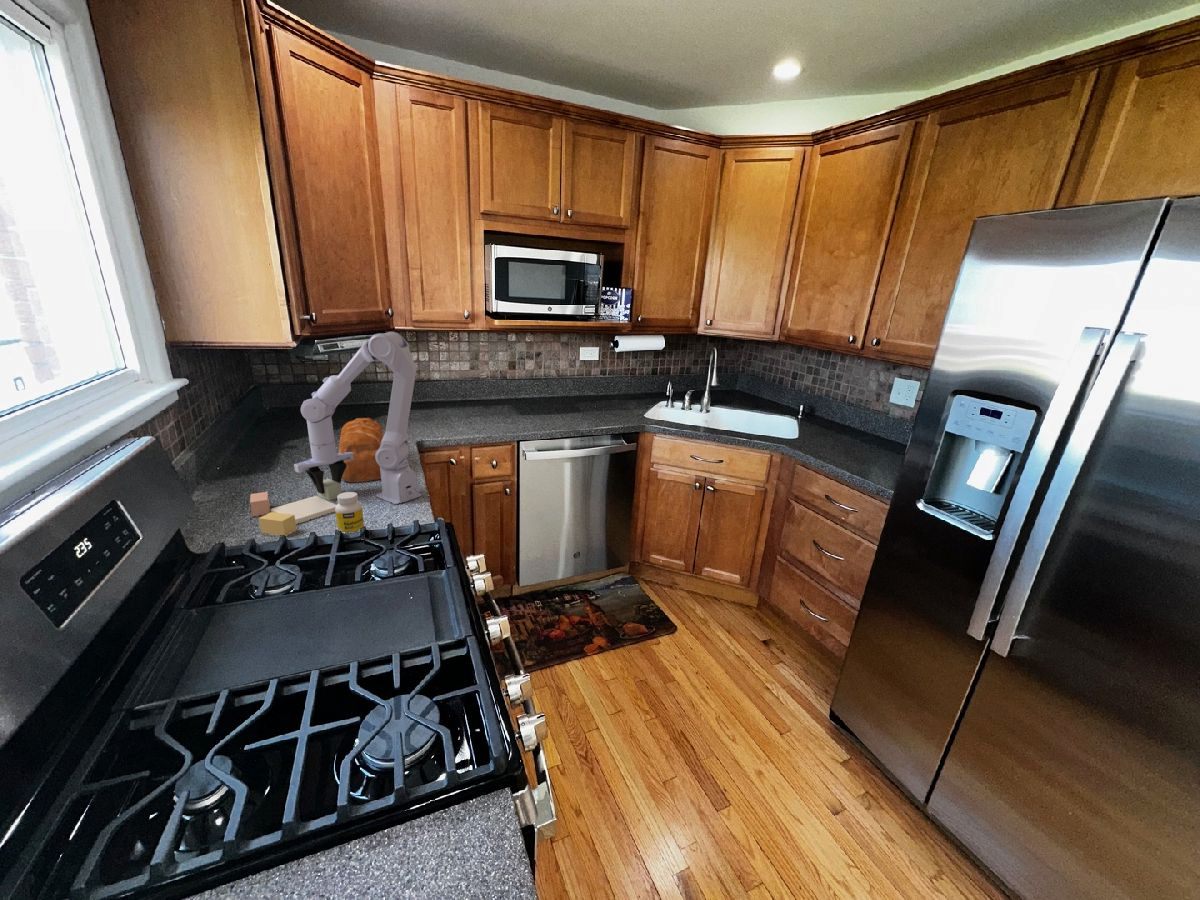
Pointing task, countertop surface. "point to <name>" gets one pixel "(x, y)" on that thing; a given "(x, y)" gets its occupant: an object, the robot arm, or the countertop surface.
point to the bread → (361, 449)
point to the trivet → (306, 508)
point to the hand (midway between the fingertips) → (329, 490)
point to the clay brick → (259, 503)
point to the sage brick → (330, 489)
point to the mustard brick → (277, 523)
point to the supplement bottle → (349, 512)
